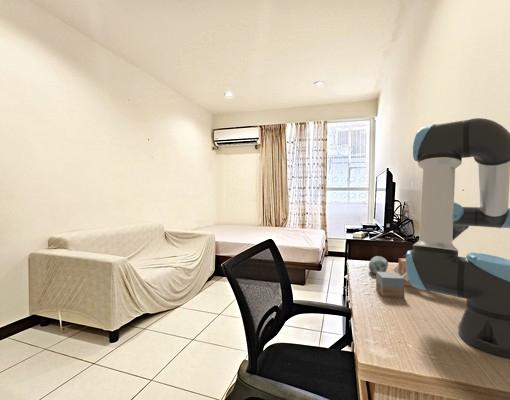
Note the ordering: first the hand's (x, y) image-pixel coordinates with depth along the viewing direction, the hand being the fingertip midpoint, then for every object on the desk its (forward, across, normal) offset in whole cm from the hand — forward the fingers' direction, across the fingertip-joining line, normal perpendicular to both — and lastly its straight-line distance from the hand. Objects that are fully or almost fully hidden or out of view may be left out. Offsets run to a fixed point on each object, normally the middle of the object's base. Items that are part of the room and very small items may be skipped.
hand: (399, 275), depth 117 cm
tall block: (+1, 0, -5) cm, 5 cm away
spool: (+6, +16, 0) cm, 17 cm away
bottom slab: (+9, -13, +3) cm, 16 cm away
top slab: (+6, -13, +6) cm, 16 cm away
